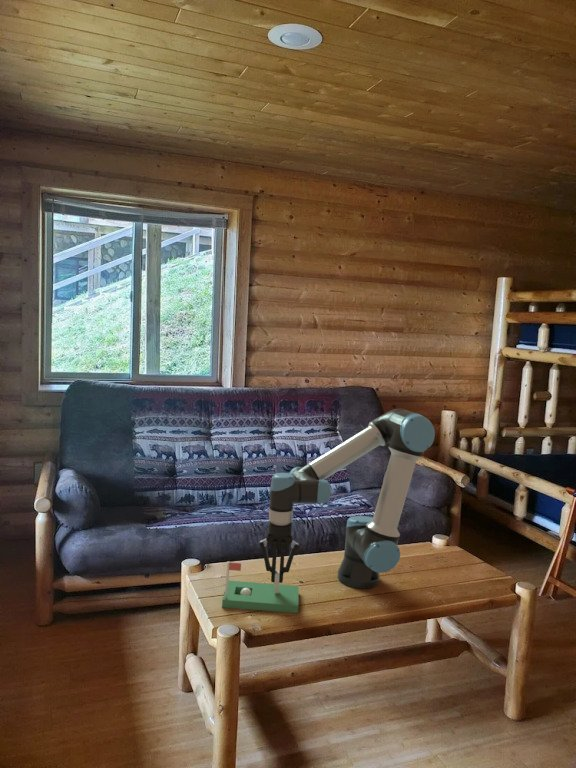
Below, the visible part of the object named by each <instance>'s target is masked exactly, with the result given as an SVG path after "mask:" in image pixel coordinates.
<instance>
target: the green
mask: <svg viewBox="0 0 576 768" xmlns="http://www.w3.org/2000/svg"><path fill="white" fill-rule="evenodd" d="M243 588H249V589H250V590H251V596H249V595H240V592H241V590H242V589H243ZM223 592H224V593H223V595H222V596H223V597H222V601H221V603H222V604H221V607H222V608H225V609H227V608H228V609H239V610H240V609H241V610H250V611H252V610H253V611H254V610H255V611H263V612H277V613H278V612H279V613H290V614H299V604H300V603H299V585H291V584H289V585H288V584H280V583H279V593H274V583H267V582H266V583H265V582H252V581H240V580H228V595H227V599H225V591H223Z"/></svg>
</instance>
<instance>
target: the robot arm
mask: <svg viewBox="0 0 576 768" xmlns="http://www.w3.org/2000/svg"><path fill="white" fill-rule="evenodd" d="M435 434H436V431H435V427H434V425H433V424H432V422H431V421H430V420H429V419H428V418H427V417H425V416H424V415H422V414H419V413H417V412H414V411H410V410H409V409H406V408H405V409H404V408H395V409H391V410H390V411H387V412H385V413H383V414H382V415H380V416H378V417H377V418H375V419H373V420H372V421H369V423H368V425H367V427H365V428H364V429H362V430H361V431H359V432H357V433H356V434H355V435H353V436H351V437H350V438H348V439H346V440H344V441H343V442H341V443H339V444H338V445H337V446H335V447H333V448H331V449H330V450H329V451H327V452H325V453H324V454H322V455H320V456H319V457H317V458H316V459H314V460H313V461H310V463H308V464H305V465H304V466H296V467H294V468H292V469H291V470H290V471H289V472H277V473H274V474H273V475H272V477H271V480H270V488H269V489H270V498H269V499H270V500H269V509H268V512H269V513H268V529H267V532H268V533H267V535H266V536H265V538H264V539H260V540H259V547H260V548H261V550H262V555H263V561H264V566H265V570H266V571H267V572H270V573H271V578H270V582H271V583H273V584H274V593H279V584H280V583H281V584H283V580H284V573H289V571H290V568H291V565H292V563H293V559H294V556H295V553H296V551H297V550H298V549H299V546H300V545H299V544H300V543H299V542H298V541H295V540H294V538H293V536H292V529H293V528H292V527H293V523H292V522H293V515H294V514H293V512H294V505H295V504H296V505H299V504H302V505H303V504H306V505H307V504H308V505H309V504H315V505H319V504H326V503H329V502H330V500H331V495H332V489H331V488H332V487H331V484H330V482H329V481H328V480H326V479H327V478H329V477H331V476H332V475H334V474H336V473H337V472H339V471H341V470H342V469H343V468H345V467H347V466H348V465H350V464H352V463H353V462H355V461H356V460H358V459H359V458H360V459H361V457H363V456H364V455H366V454H367V453H369V452H371V451H373V450H374V449H376V448H377V447H379V446H382V447H385V446H386V445H388V446H387V447H388V449H389V451H390V453H391V454H390V457H389V461H388V463H387V467H386V471H385V473H384V477H383V478H384V479H383V481H382V485H381V490H380V492H379V497H378V499H377V503H376V507H375V510H374V514H373V517H372V516H368V515H367V516H365V515H356V516H354V515H353V516H351V517H349V518H347V521H346V527H345V528H346V529H345V543H344V555H343V558H342V561H341V562H340V565H339V568H338V570H337V579H338V581H339V582H340V583H341V584H343V585H345V586H348V587H352V588H356V589H373V588H375V587H377V586H378V585H380V579H381V577H380V573H386V572H389V571H390V570H393V569H395V567H396V566H397V565H398V563H399V561H400V560H401V551H400V547H399V546H398V543H399V540H400V537H401V536H400V535H401V533H400V532H399V530H398V526H399V523H400V520H401V516H402V513H403V509H404V505H405V501H406V498H407V494H408V491H409V488H410V485H411V481H412V478H413V474H414V471H415V467H416V464H417V461H418V460H421V459H422V458H423V457H424V456H423V455H424V453H425V451H427V450H428V449H429V448H430V447H431V446H432V445H433V443H434V441H435ZM268 545H269V546H270V548H271V549H272V559H271V562H270V557H269V553H268V547H267V546H268ZM289 546H290V548H291V549H290V551H289V555H288V557H287V560H286V561H287V562H286V565H285V550H287V549H288V547H289ZM278 551H280V555H279V556H280V558H279V560H280V561H279V570H276V568H277V553H278Z"/></svg>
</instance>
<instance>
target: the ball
mask: <svg viewBox="0 0 576 768" xmlns="http://www.w3.org/2000/svg"><path fill="white" fill-rule="evenodd" d="M239 595H249V596H251V590H250V589H249V588H243V589H242V590H241V592H240V594H239Z"/></svg>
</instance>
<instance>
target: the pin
mask: <svg viewBox="0 0 576 768" xmlns="http://www.w3.org/2000/svg"><path fill="white" fill-rule="evenodd" d="M241 569H242V563H241V562H231V561H227V562H226V574H225V588H224V589H225V590H224V592H225V599H227V595H228V580H229V578H230V577H229V575H230V571H237V572H240V571H241ZM229 581H230V580H229Z"/></svg>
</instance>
